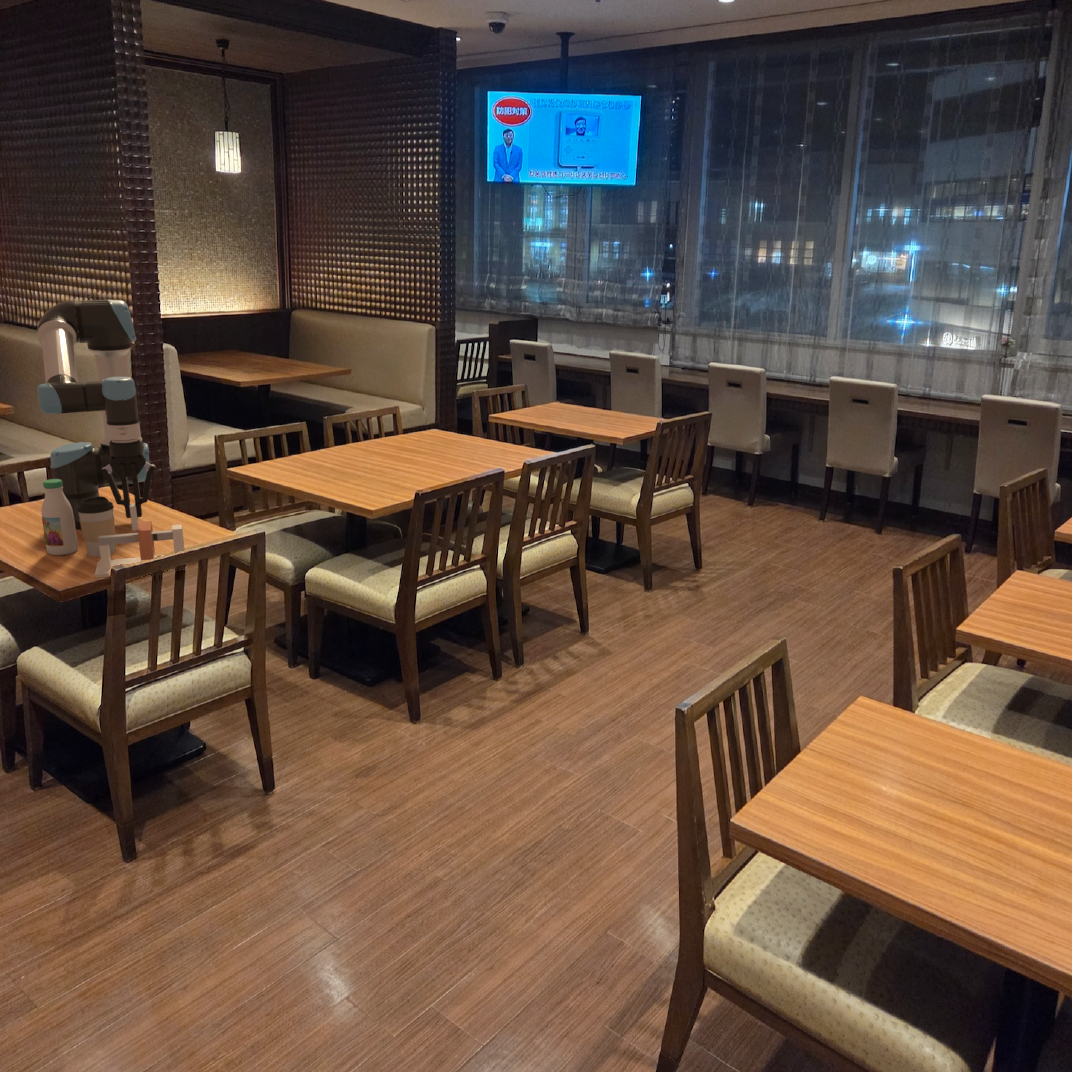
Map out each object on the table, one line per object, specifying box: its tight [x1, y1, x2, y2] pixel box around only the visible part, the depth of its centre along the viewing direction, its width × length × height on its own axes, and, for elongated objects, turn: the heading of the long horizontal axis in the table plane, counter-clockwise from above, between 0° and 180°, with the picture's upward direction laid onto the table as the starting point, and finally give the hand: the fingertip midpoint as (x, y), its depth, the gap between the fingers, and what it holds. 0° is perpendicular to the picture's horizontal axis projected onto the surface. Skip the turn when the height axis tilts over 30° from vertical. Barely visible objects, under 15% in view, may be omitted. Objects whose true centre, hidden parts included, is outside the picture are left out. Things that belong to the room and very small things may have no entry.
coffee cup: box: [77, 495, 116, 558], centre depth 258 cm, size 9×9×15 cm
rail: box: [94, 523, 188, 578], centre depth 249 cm, size 11×22×10 cm, turn 109°
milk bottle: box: [41, 478, 79, 556], centre depth 258 cm, size 8×8×20 cm
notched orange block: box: [137, 521, 156, 561], centre depth 249 cm, size 8×3×8 cm, turn 19°
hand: (135, 529), depth 247 cm, fingers closed
